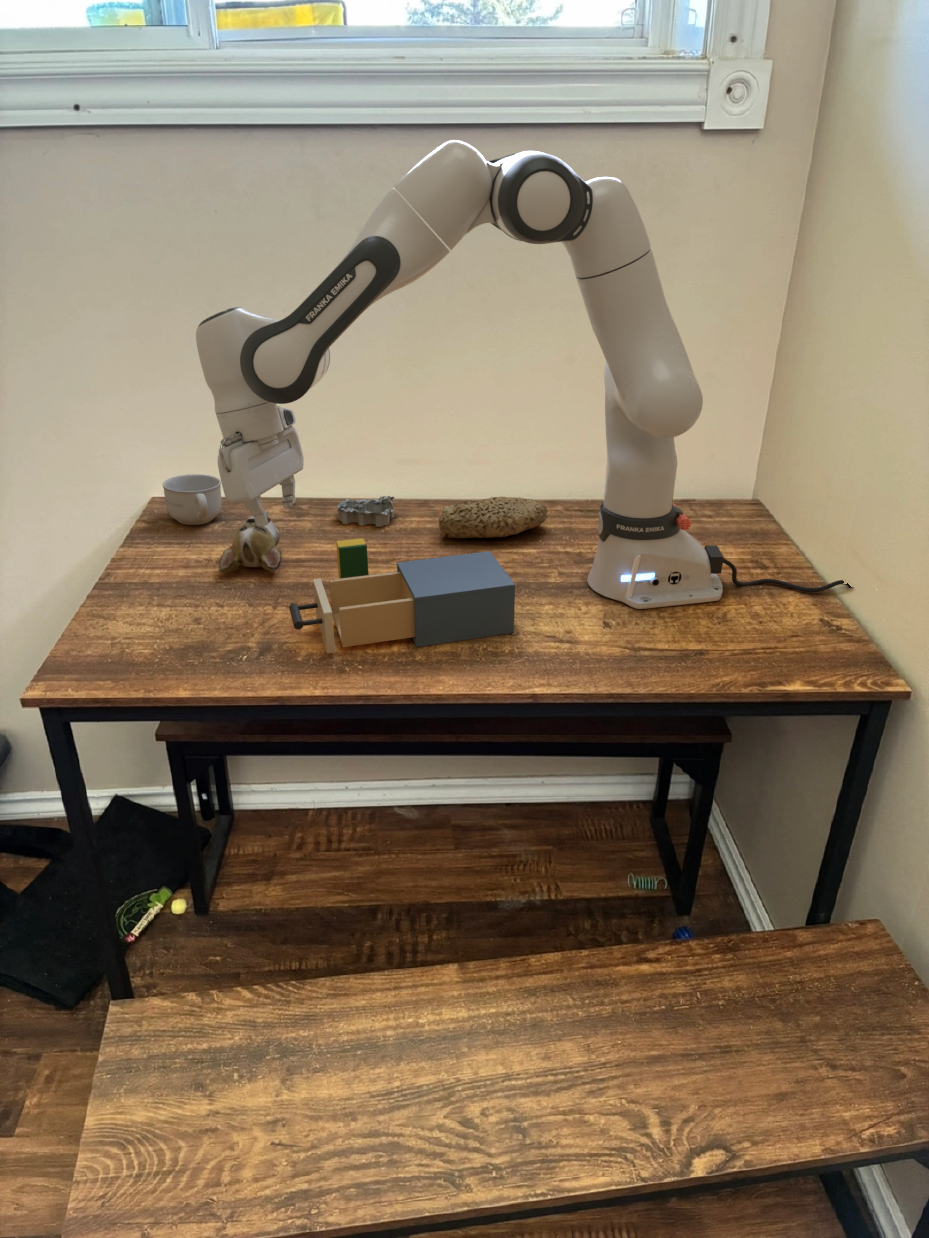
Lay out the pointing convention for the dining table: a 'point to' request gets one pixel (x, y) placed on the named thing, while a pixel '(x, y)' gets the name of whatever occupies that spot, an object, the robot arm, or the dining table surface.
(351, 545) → the scrub sponge
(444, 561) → the cabinet
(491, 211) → the robot arm
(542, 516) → the sponge
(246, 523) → the ceramic sculpture
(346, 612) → the drawer
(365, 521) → the egg carton
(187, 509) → the teacup
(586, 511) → the dining table surface
